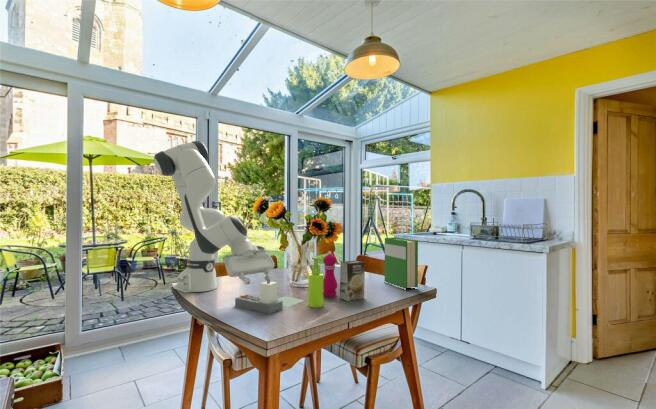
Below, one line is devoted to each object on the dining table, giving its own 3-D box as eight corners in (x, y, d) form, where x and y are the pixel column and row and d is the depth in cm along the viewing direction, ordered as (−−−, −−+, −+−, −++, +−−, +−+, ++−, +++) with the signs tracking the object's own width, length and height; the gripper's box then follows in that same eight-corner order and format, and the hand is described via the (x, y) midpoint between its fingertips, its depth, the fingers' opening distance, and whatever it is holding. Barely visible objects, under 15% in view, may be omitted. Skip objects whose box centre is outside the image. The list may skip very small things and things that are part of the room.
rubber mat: (267, 305, 130) (267, 302, 130) (284, 298, 140) (284, 296, 140) (288, 309, 125) (288, 307, 125) (305, 302, 134) (305, 300, 134)
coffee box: (348, 301, 136) (348, 263, 136) (339, 298, 141) (339, 261, 141) (364, 298, 141) (365, 261, 141) (355, 295, 146) (356, 259, 146)
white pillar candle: (259, 310, 121) (260, 279, 121) (267, 306, 125) (268, 277, 125) (268, 312, 118) (269, 280, 118) (276, 308, 122) (277, 278, 122)
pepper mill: (335, 297, 142) (336, 252, 142) (319, 296, 143) (320, 251, 143) (338, 293, 149) (338, 250, 149) (323, 292, 150) (323, 249, 150)
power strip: (235, 308, 126) (235, 296, 126) (248, 303, 132) (248, 292, 132) (270, 316, 116) (270, 303, 116) (282, 311, 122) (282, 299, 122)
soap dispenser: (328, 307, 128) (328, 256, 129) (315, 310, 123) (315, 258, 124) (317, 303, 132) (318, 255, 133) (305, 307, 128) (305, 256, 128)
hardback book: (417, 289, 158) (417, 240, 158) (405, 290, 155) (405, 240, 155) (396, 281, 174) (396, 237, 174) (384, 283, 171) (384, 237, 171)
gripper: (224, 250, 122) (238, 280, 115) (268, 246, 137) (282, 273, 130) (218, 261, 125) (231, 290, 118) (261, 256, 140) (275, 282, 133)
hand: (258, 281), depth 124 cm, fingers open, 8 cm apart
